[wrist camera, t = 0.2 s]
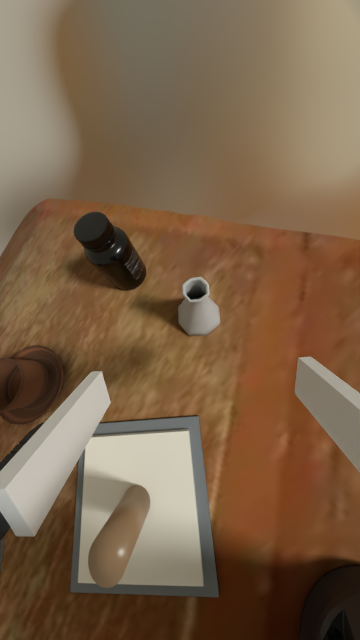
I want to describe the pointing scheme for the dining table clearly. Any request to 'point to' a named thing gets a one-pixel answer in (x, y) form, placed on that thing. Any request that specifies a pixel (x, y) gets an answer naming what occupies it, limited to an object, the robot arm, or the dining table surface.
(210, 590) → the mat
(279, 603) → the dining table surface
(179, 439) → the board
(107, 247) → the supplement bottle
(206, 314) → the flask
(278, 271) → the dining table surface
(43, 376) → the cup and saucer
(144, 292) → the dining table surface
